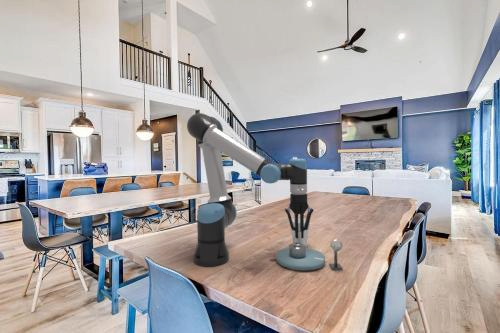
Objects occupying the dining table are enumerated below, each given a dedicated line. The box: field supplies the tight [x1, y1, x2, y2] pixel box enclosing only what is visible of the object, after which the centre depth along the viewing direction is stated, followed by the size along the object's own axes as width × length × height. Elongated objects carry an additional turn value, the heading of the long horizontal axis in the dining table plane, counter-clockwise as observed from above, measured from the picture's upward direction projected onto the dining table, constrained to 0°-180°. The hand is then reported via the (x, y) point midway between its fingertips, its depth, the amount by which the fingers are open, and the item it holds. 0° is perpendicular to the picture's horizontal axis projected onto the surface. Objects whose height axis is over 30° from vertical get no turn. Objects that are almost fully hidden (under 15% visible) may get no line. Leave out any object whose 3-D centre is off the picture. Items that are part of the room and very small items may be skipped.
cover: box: [288, 243, 307, 259], centre depth 109 cm, size 7×7×5 cm
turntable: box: [276, 237, 326, 271], centre depth 109 cm, size 20×20×7 cm
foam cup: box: [290, 217, 311, 247], centre depth 128 cm, size 10×9×13 cm
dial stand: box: [328, 238, 343, 271], centre depth 103 cm, size 4×4×12 cm
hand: (299, 245), depth 117 cm, fingers closed
